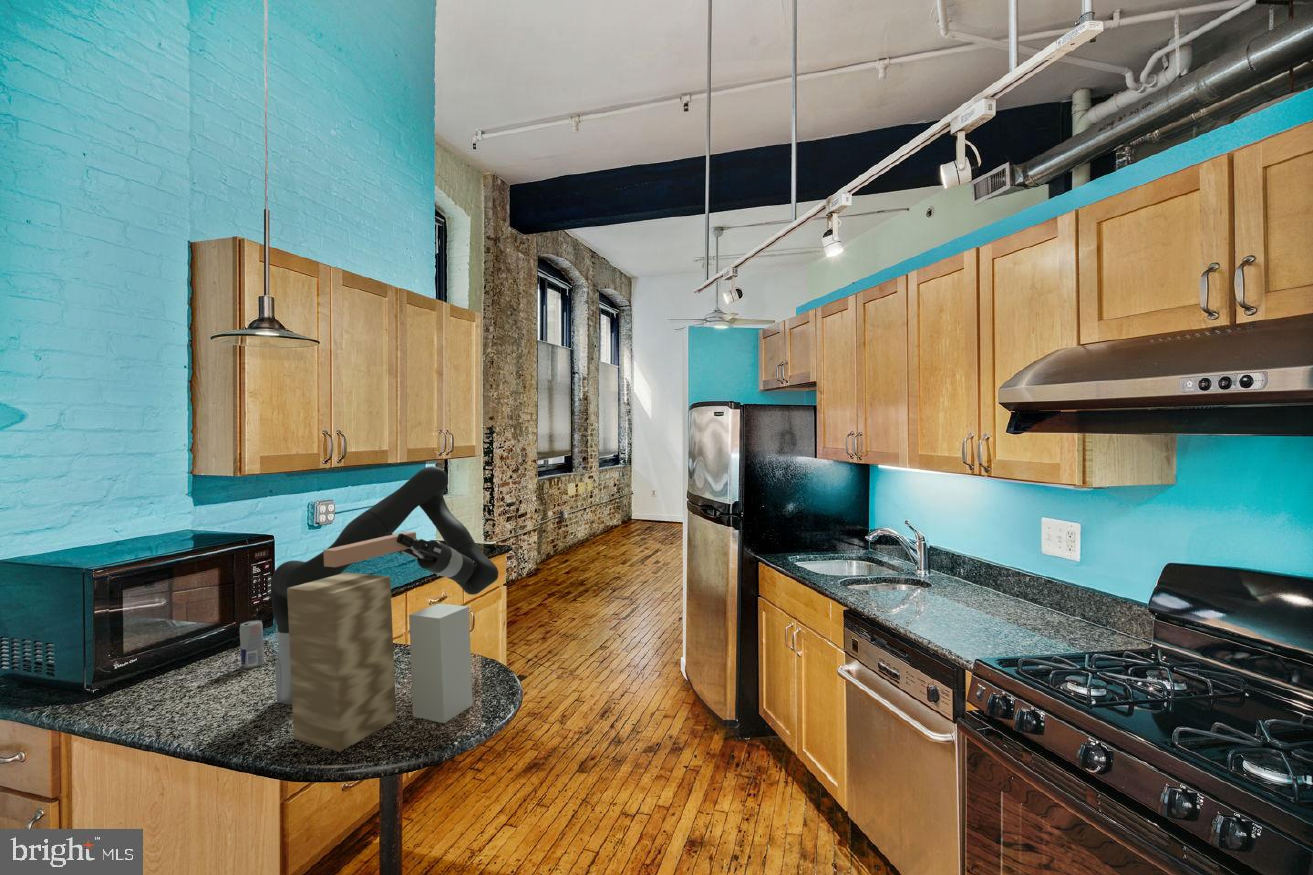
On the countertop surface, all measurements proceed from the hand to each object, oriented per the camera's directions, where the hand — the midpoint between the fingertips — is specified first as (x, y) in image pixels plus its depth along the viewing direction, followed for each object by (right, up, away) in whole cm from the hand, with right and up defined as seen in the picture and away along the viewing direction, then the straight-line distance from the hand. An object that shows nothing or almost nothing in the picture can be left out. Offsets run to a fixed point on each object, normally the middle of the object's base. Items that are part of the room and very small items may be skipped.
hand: (392, 537), depth 141 cm
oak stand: (-4, -40, -13) cm, 42 cm away
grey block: (+14, -39, -6) cm, 42 cm away
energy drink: (-52, -41, +27) cm, 71 cm away
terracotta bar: (-2, -3, -5) cm, 6 cm away
